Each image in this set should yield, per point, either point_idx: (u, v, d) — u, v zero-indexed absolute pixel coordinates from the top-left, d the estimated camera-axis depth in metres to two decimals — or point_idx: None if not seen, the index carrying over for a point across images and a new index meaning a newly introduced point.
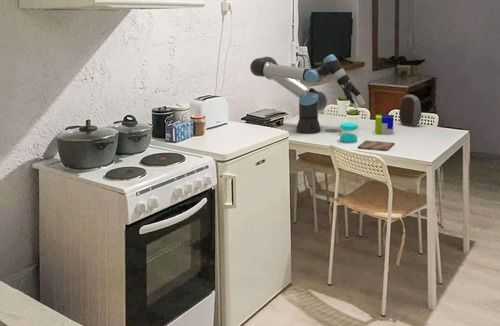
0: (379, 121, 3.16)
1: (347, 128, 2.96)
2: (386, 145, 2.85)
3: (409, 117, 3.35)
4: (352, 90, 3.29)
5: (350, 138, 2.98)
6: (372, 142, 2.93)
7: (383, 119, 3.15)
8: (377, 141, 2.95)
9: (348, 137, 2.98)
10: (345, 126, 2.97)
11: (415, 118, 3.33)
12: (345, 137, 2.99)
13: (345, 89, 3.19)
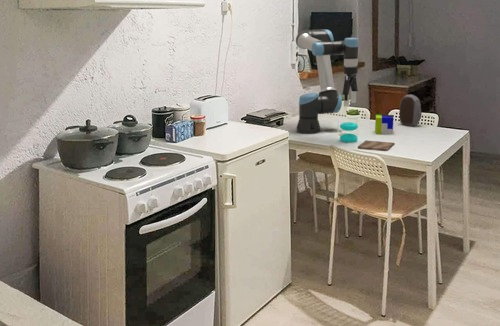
0: (379, 121, 3.16)
1: (347, 128, 2.96)
2: (386, 145, 2.85)
3: (409, 117, 3.35)
4: (352, 84, 2.98)
5: (350, 138, 2.98)
6: (372, 142, 2.93)
7: (383, 119, 3.15)
8: (377, 141, 2.95)
9: (348, 137, 2.98)
10: (345, 126, 2.97)
11: (415, 118, 3.33)
12: (345, 137, 2.99)
13: (347, 82, 2.88)
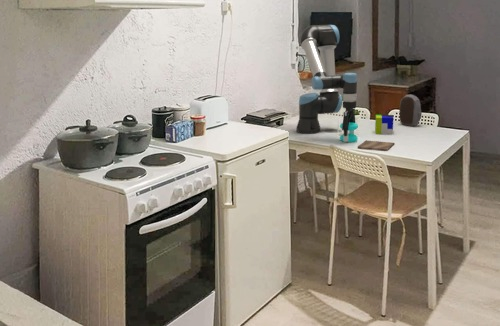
0: (379, 121, 3.16)
1: None
2: (386, 145, 2.85)
3: (409, 117, 3.35)
4: (350, 118, 3.02)
5: (350, 138, 2.98)
6: (372, 142, 2.93)
7: (383, 119, 3.15)
8: (377, 141, 2.95)
9: (348, 137, 2.98)
10: None
11: (415, 118, 3.33)
12: None
13: (346, 118, 2.93)
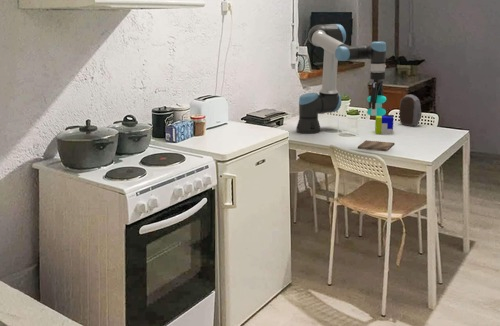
0: (379, 121, 3.16)
1: None
2: (386, 145, 2.85)
3: (409, 117, 3.35)
4: (378, 91, 2.83)
5: (378, 111, 2.79)
6: (372, 142, 2.93)
7: (383, 119, 3.15)
8: (377, 141, 2.95)
9: None
10: None
11: (415, 118, 3.33)
12: None
13: (374, 90, 2.74)
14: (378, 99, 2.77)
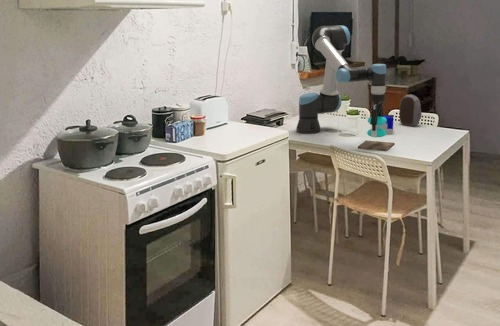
0: None
1: None
2: (386, 145, 2.85)
3: (409, 117, 3.35)
4: (378, 112, 2.86)
5: (379, 133, 2.81)
6: (372, 142, 2.93)
7: None
8: (377, 141, 2.95)
9: None
10: None
11: (415, 118, 3.33)
12: None
13: (374, 112, 2.77)
14: (378, 121, 2.79)
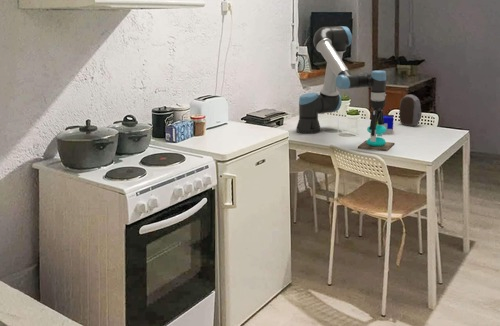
0: None
1: None
2: (386, 145, 2.85)
3: (409, 117, 3.35)
4: (378, 117, 2.87)
5: (378, 142, 2.83)
6: None
7: None
8: None
9: (376, 141, 2.83)
10: None
11: (415, 118, 3.33)
12: None
13: (374, 117, 2.77)
14: (378, 130, 2.81)
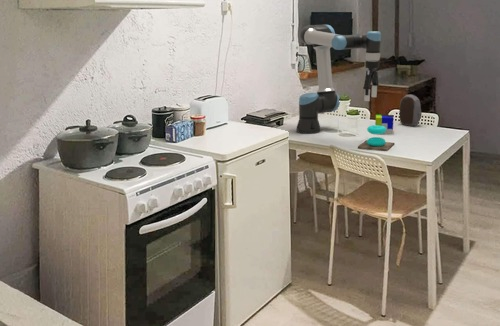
0: (379, 121, 3.16)
1: (375, 131, 2.81)
2: (386, 145, 2.85)
3: (409, 117, 3.35)
4: (373, 78, 2.94)
5: (378, 142, 2.83)
6: None
7: (383, 119, 3.15)
8: None
9: (376, 141, 2.83)
10: (373, 129, 2.82)
11: (415, 118, 3.33)
12: (373, 141, 2.84)
13: (368, 77, 2.84)
14: (378, 130, 2.81)
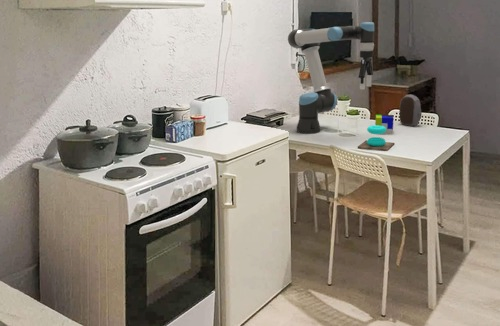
0: (379, 121, 3.16)
1: (375, 131, 2.81)
2: (386, 145, 2.85)
3: (409, 117, 3.35)
4: (368, 68, 3.05)
5: (378, 142, 2.83)
6: None
7: (383, 119, 3.15)
8: None
9: (376, 141, 2.83)
10: (373, 129, 2.82)
11: (415, 118, 3.33)
12: (373, 141, 2.84)
13: (363, 66, 2.95)
14: (378, 130, 2.81)
